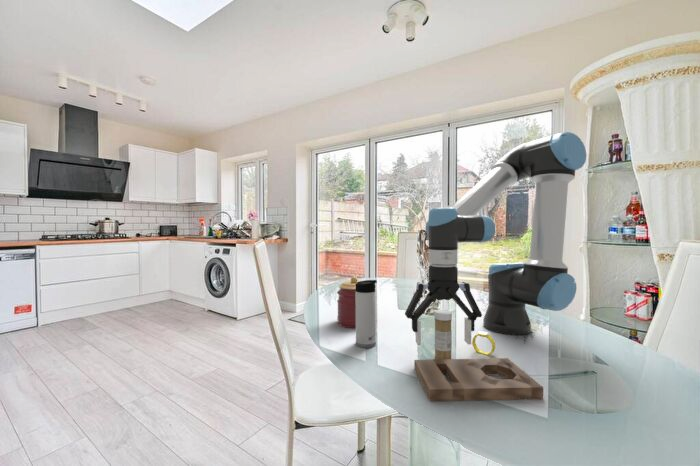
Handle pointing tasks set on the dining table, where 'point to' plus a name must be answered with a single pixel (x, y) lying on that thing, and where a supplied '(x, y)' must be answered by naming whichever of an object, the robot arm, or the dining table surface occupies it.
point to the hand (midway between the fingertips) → (443, 343)
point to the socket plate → (475, 380)
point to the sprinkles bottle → (443, 334)
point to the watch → (485, 334)
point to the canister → (347, 303)
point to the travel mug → (365, 313)
